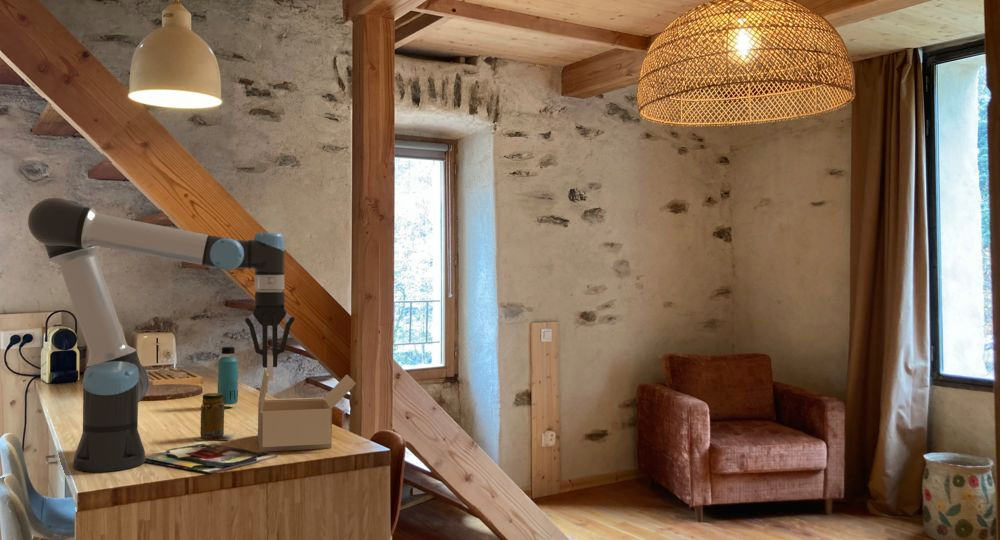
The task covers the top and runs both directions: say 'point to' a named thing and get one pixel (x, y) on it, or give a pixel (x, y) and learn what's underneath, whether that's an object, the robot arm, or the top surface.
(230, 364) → the beverage bottle
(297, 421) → the near flap
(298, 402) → the carton
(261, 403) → the left flap
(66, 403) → the top surface
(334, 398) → the right flap
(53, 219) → the robot arm
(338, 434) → the top surface
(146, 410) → the top surface
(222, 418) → the condiment
